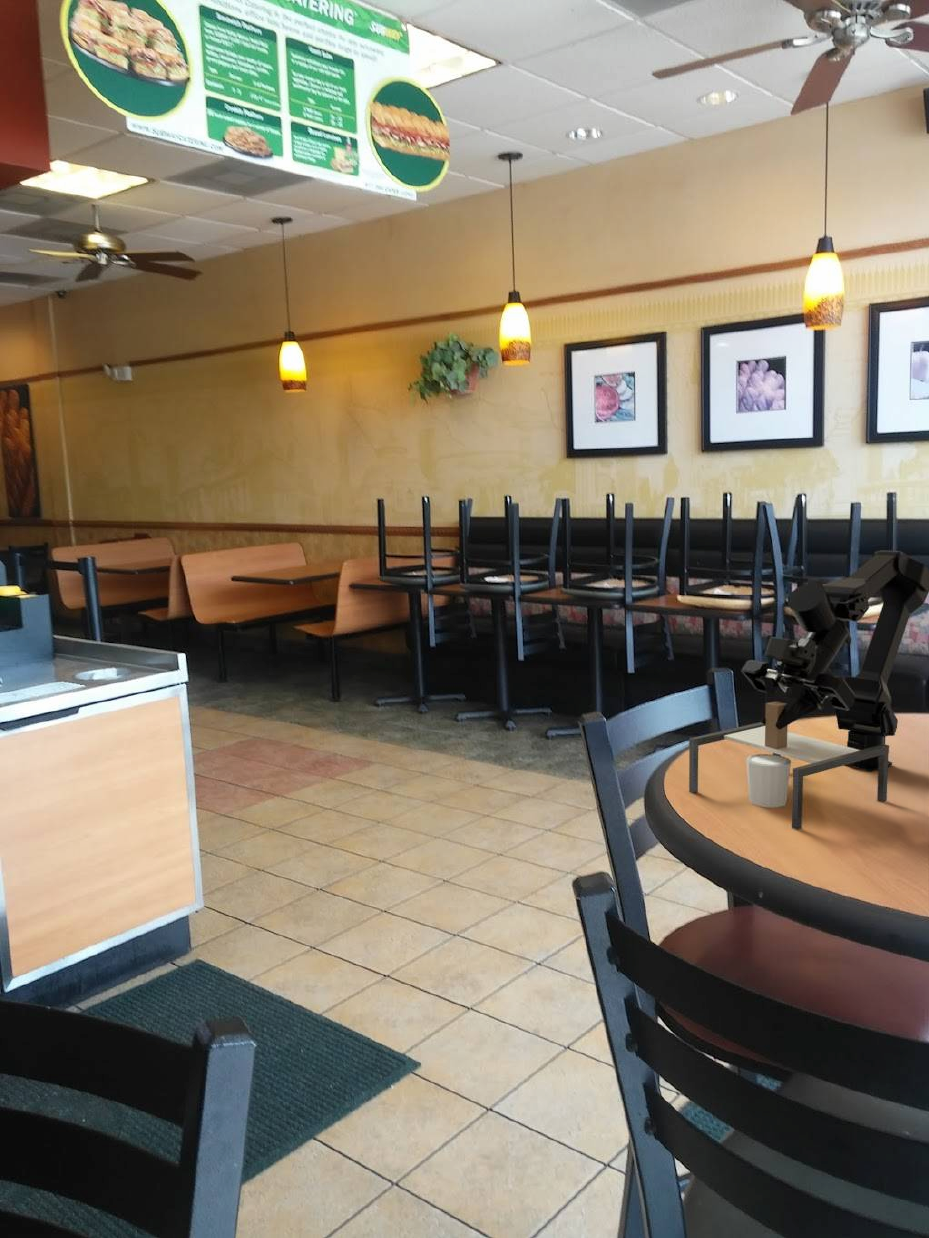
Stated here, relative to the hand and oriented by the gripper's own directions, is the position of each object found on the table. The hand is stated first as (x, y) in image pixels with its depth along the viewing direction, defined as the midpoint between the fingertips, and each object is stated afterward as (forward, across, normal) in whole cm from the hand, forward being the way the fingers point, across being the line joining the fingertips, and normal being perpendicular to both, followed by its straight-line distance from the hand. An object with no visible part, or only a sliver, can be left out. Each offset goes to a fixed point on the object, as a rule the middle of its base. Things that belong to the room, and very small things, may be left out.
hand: (770, 726), depth 159 cm
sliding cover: (-1, 0, +6) cm, 6 cm away
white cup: (+9, 0, +9) cm, 13 cm away
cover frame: (+6, 0, +12) cm, 13 cm away
